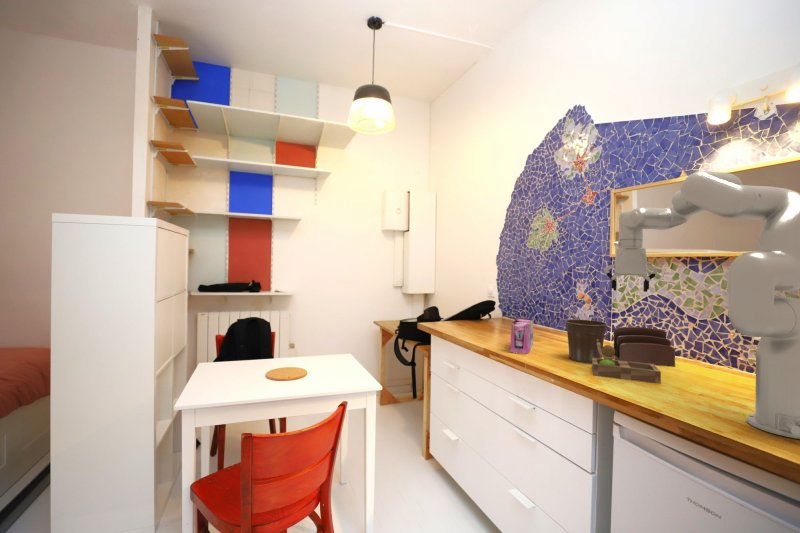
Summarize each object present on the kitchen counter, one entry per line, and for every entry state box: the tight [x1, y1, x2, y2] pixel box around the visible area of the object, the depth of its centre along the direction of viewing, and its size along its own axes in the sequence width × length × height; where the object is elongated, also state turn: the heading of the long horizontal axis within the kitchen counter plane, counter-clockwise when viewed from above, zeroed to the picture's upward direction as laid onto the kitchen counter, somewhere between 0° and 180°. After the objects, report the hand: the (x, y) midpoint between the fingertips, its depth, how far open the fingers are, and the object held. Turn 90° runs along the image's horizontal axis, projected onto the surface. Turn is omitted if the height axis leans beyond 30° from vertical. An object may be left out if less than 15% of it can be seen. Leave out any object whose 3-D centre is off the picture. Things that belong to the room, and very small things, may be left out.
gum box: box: [509, 317, 534, 355], centre depth 175 cm, size 24×8×14 cm, turn 155°
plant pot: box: [564, 318, 608, 364], centre depth 156 cm, size 16×16×16 cm
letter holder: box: [613, 326, 676, 368], centre depth 155 cm, size 10×20×14 cm, turn 73°
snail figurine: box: [597, 339, 616, 366], centre depth 136 cm, size 5×6×12 cm
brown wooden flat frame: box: [591, 357, 662, 384], centre depth 134 cm, size 12×20×4 cm, turn 65°
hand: (629, 291), depth 137 cm, fingers open, 9 cm apart
